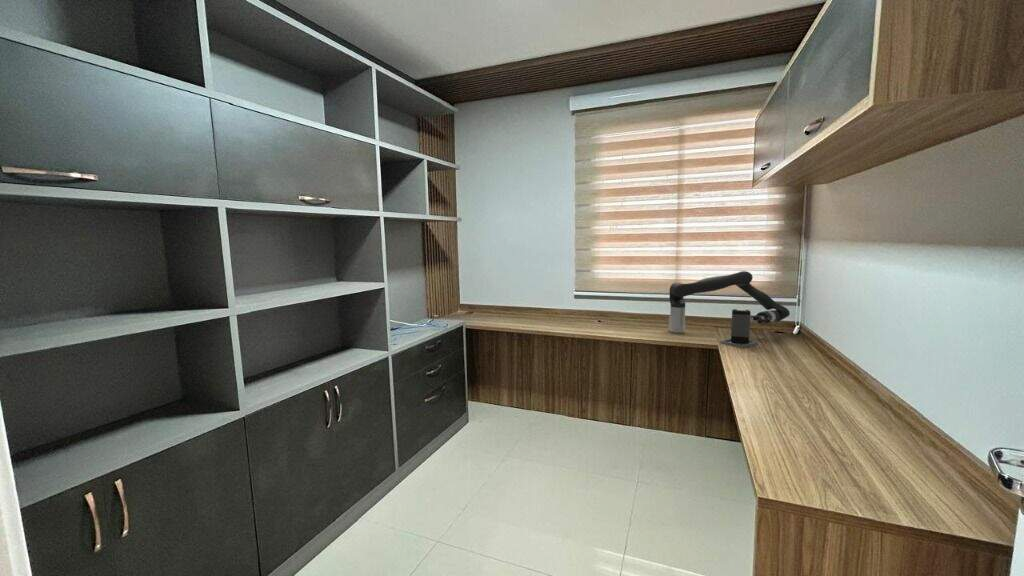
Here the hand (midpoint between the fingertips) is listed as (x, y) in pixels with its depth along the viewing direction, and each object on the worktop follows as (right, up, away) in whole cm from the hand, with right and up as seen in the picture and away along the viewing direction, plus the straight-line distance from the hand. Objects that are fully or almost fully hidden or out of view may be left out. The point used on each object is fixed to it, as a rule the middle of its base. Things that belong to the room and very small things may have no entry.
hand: (751, 320), depth 238 cm
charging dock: (-10, -13, -4) cm, 17 cm away
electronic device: (-9, -14, -4) cm, 17 cm away
